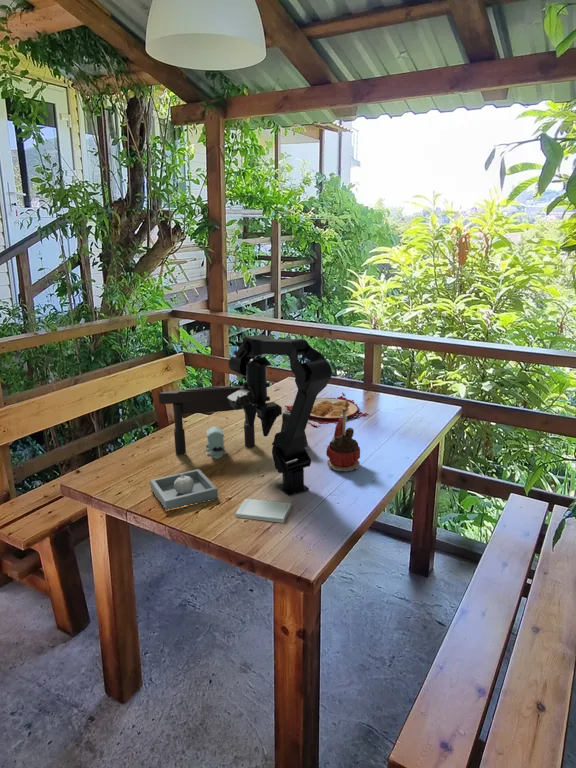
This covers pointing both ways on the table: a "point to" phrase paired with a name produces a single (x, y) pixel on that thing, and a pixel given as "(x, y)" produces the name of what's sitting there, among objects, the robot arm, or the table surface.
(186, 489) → the garlic
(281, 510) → the hard drive
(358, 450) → the cake
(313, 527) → the table surface
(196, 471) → the tray
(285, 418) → the phone stand
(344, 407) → the plate with food
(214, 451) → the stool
